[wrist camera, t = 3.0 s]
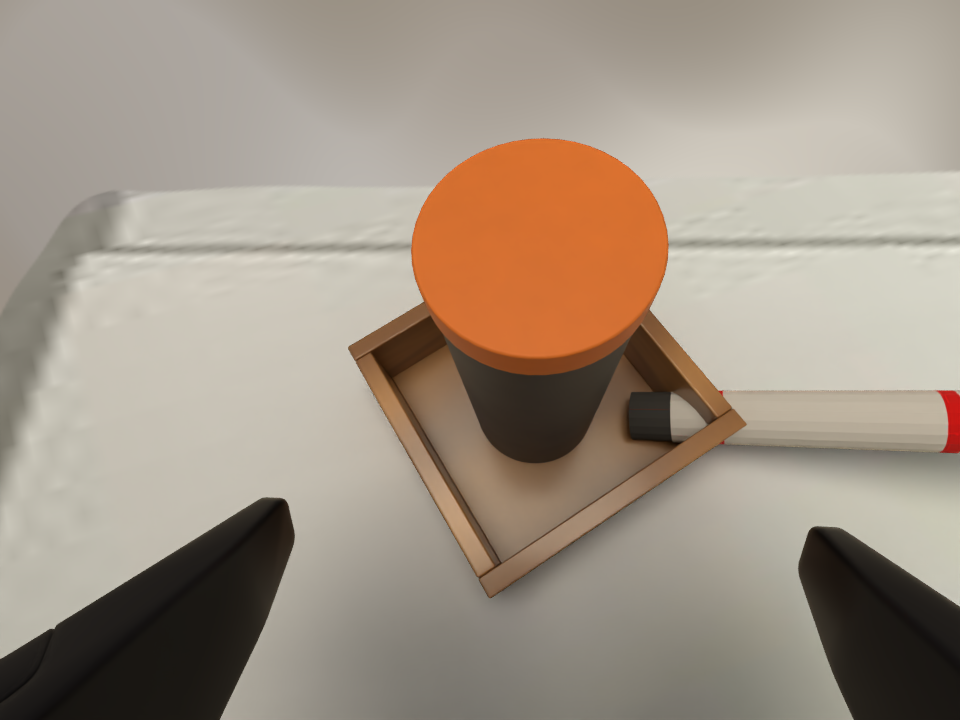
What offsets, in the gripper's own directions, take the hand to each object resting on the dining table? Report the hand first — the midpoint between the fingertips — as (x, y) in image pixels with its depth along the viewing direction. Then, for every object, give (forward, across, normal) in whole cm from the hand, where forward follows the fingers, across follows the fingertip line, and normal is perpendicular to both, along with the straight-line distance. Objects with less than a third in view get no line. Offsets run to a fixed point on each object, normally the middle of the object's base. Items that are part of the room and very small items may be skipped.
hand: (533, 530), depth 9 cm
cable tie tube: (+12, 0, +4) cm, 13 cm away
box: (+12, 0, +5) cm, 13 cm away
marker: (+10, -12, +4) cm, 16 cm away
